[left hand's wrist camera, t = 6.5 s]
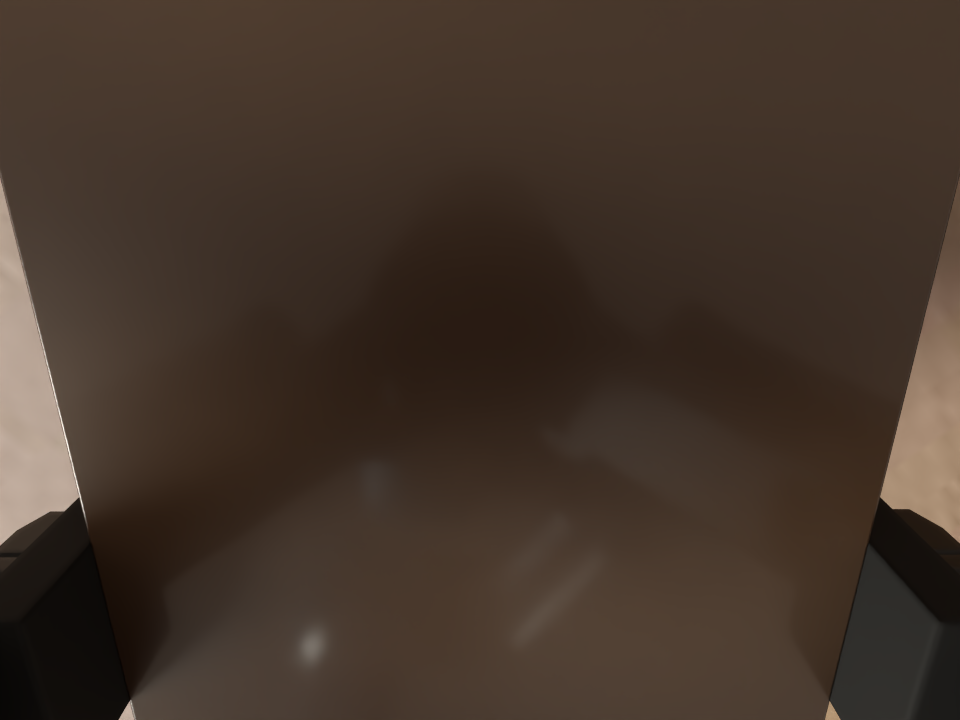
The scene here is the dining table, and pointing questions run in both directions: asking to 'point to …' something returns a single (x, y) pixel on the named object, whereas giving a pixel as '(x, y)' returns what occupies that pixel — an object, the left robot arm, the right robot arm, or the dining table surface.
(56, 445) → the dining table surface
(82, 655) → the left robot arm
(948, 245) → the dining table surface
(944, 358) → the dining table surface
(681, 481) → the cabinet
